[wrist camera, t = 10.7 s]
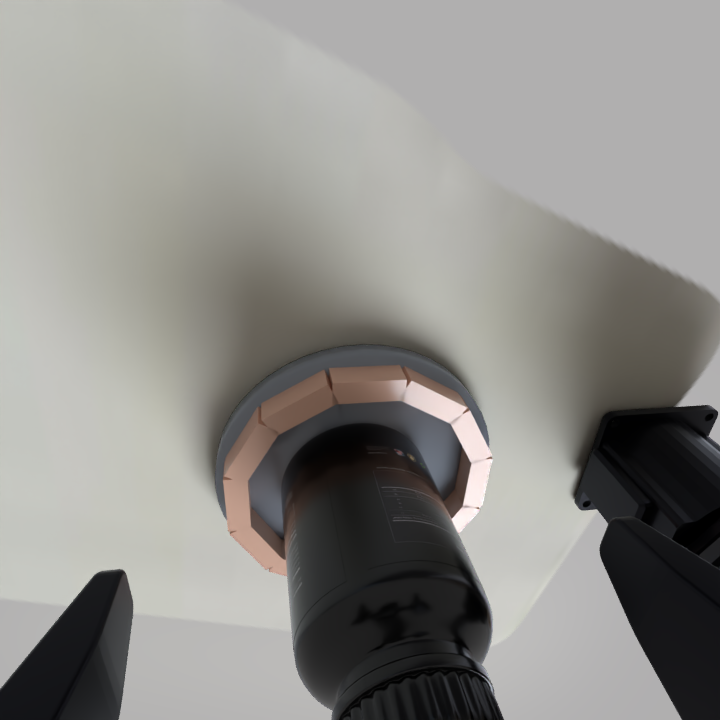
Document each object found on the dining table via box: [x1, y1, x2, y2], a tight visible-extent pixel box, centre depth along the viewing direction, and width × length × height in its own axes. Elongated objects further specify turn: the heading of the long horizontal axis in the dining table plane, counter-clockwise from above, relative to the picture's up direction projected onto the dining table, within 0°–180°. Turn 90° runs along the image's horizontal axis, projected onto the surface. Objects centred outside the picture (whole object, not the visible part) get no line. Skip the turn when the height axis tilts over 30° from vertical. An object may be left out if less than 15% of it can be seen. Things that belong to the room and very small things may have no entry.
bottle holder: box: [215, 345, 493, 576], centre depth 24 cm, size 13×13×2 cm
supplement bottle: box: [281, 423, 504, 720], centre depth 19 cm, size 7×7×12 cm
